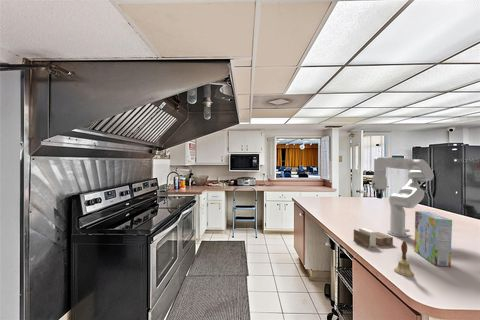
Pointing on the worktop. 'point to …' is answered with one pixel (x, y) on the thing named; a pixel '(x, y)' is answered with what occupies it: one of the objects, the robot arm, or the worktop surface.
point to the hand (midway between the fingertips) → (379, 198)
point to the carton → (371, 236)
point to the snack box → (433, 238)
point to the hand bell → (403, 263)
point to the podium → (380, 239)
